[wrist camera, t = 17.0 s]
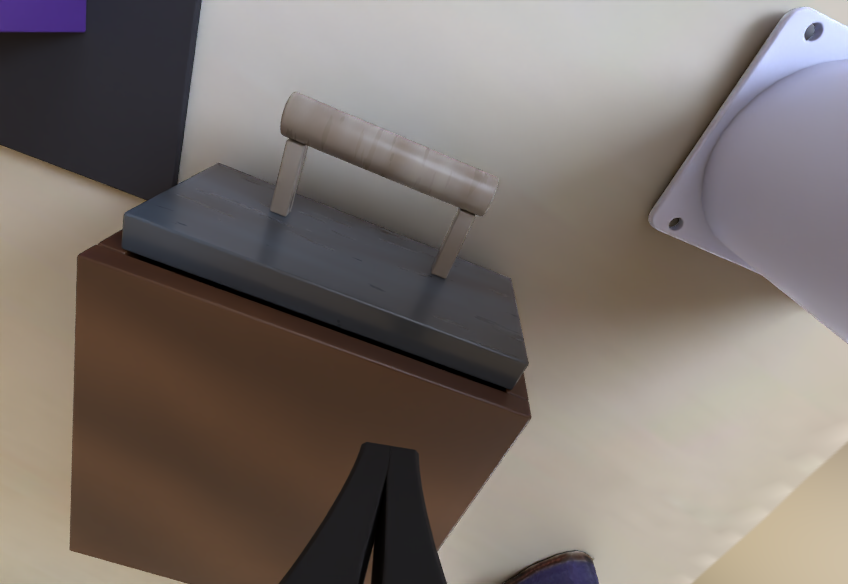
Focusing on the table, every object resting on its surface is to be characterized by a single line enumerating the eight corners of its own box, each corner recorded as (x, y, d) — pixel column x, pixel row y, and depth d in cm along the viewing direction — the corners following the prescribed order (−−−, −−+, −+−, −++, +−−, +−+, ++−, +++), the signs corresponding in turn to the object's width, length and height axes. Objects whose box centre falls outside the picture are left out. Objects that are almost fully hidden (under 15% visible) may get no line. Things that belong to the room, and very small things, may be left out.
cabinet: (208, 178, 19) (75, 254, 13) (509, 295, 21) (532, 418, 14) (168, 419, 26) (68, 551, 19) (397, 492, 28) (377, 637, 21)
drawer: (237, 52, 16) (133, 61, 11) (560, 190, 18) (601, 254, 12) (175, 405, 24) (100, 503, 19) (399, 478, 26) (384, 587, 21)
